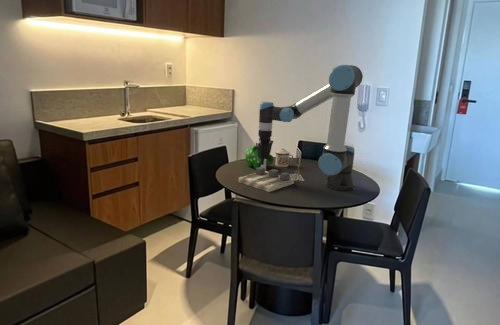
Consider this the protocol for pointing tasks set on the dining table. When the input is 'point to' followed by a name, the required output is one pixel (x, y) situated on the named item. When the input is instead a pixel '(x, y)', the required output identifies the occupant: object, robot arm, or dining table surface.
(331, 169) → the robot arm
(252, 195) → the dining table surface
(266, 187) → the switch board
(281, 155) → the teacup with lid
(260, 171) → the far tab
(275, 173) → the middle tab
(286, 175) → the near tab
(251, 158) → the piggy bank
